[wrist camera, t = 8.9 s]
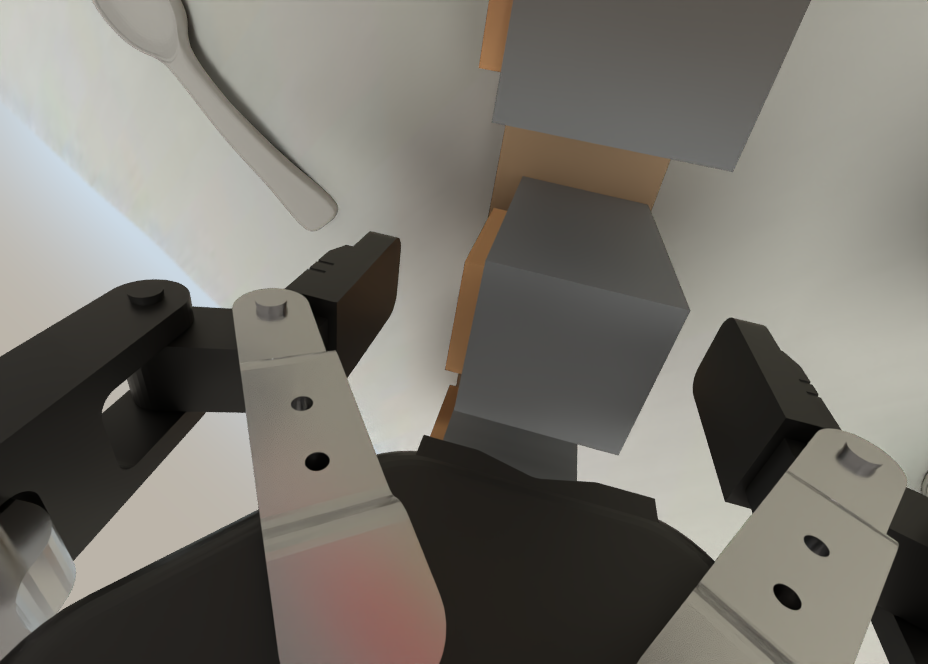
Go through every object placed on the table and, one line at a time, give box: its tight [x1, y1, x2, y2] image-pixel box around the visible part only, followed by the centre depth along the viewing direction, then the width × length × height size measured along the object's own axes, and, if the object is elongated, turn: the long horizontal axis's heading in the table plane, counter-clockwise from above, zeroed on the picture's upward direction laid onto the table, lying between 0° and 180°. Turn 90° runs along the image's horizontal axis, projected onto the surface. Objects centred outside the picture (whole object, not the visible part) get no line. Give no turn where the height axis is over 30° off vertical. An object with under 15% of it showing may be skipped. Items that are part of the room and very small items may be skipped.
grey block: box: [445, 176, 690, 455], centre depth 13 cm, size 4×4×7 cm
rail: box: [430, 0, 811, 481], centre depth 15 cm, size 22×5×10 cm, turn 171°
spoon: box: [92, 0, 338, 231], centre depth 19 cm, size 3×12×2 cm, turn 36°
